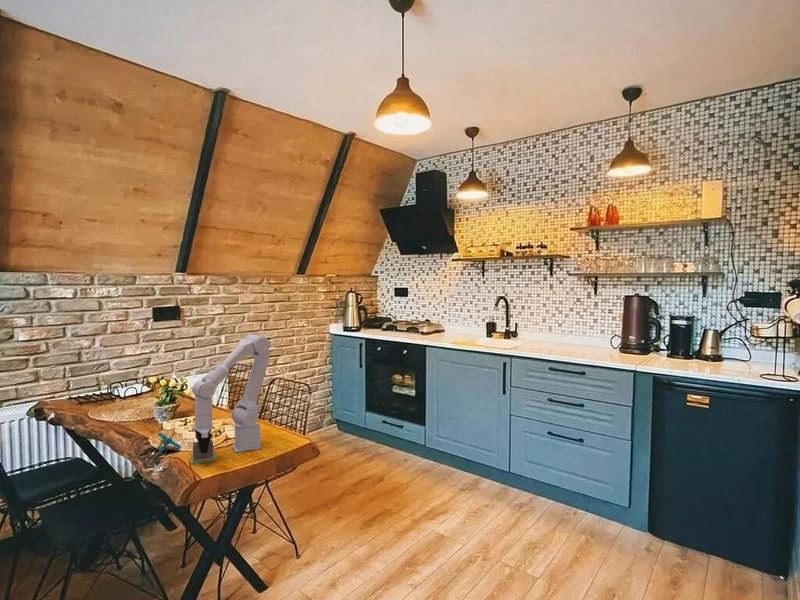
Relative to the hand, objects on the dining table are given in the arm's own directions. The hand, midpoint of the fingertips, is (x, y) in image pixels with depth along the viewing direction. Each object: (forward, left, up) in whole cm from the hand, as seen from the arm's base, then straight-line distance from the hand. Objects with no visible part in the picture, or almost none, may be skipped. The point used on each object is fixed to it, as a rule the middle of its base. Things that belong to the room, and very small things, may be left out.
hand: (203, 450), depth 166 cm
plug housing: (0, 0, -2) cm, 2 cm away
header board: (0, 0, -3) cm, 3 cm away
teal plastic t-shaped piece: (+11, -15, -4) cm, 19 cm away
